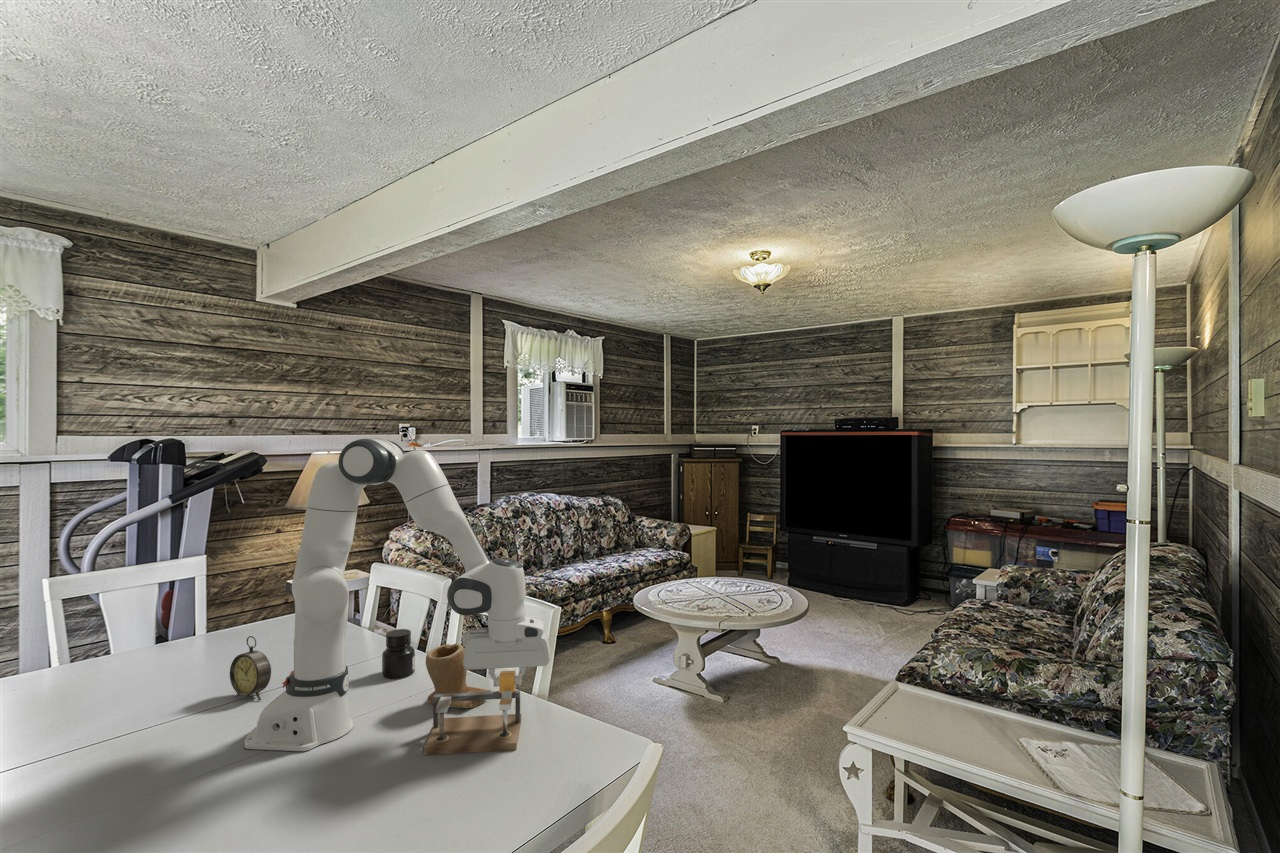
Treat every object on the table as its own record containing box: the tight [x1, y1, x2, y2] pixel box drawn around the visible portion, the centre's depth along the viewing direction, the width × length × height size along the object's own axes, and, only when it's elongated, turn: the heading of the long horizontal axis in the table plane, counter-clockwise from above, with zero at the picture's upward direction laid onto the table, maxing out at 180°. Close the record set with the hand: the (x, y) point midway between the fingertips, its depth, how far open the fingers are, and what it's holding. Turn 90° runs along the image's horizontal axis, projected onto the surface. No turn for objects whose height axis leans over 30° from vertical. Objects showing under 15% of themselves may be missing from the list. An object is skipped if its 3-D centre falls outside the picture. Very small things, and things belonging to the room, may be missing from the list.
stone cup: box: [425, 643, 492, 709], centre depth 160 cm, size 15×12×15 cm
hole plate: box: [423, 689, 522, 756], centre depth 143 cm, size 20×14×9 cm
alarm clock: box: [229, 635, 272, 701], centre depth 165 cm, size 11×5×16 cm, turn 68°
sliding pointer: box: [498, 670, 517, 734], centre depth 145 cm, size 4×8×11 cm, turn 6°
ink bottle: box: [381, 628, 416, 680], centre depth 180 cm, size 10×9×12 cm
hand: (507, 685), depth 147 cm, fingers closed on sliding pointer, 3 cm apart
